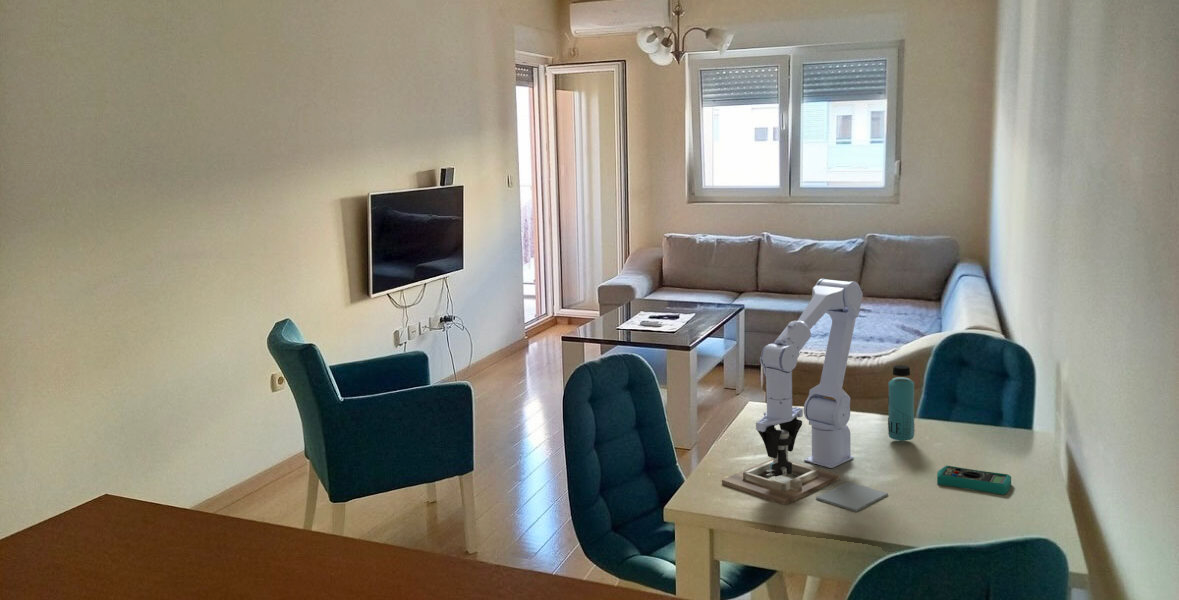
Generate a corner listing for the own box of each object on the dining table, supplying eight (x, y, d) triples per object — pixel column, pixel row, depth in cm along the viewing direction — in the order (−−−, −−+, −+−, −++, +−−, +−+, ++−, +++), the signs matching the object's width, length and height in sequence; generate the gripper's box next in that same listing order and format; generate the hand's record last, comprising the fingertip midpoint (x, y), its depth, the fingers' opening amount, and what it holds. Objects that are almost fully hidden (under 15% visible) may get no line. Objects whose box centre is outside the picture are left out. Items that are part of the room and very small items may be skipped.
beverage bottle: (917, 440, 233) (918, 363, 229) (911, 448, 227) (911, 370, 224) (891, 436, 236) (891, 361, 233) (884, 444, 231) (884, 367, 227)
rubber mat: (848, 483, 207) (848, 481, 207) (887, 495, 199) (887, 493, 199) (816, 499, 199) (816, 497, 199) (856, 511, 192) (856, 509, 192)
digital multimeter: (942, 475, 210) (942, 463, 210) (1012, 485, 202) (1012, 473, 201) (934, 486, 204) (934, 473, 204) (1006, 497, 196) (1006, 484, 196)
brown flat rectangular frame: (776, 460, 223) (776, 449, 223) (839, 479, 210) (839, 466, 209) (722, 483, 211) (721, 471, 210) (785, 505, 197) (785, 491, 197)
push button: (774, 480, 206) (774, 438, 204) (759, 473, 210) (759, 432, 208) (797, 475, 209) (797, 433, 207) (781, 468, 213) (782, 427, 212)
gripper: (784, 386, 214) (785, 441, 217) (744, 400, 205) (746, 458, 207) (809, 391, 209) (810, 448, 211) (769, 406, 200) (770, 465, 202)
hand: (780, 453), depth 209 cm, fingers closed on push button, 5 cm apart
